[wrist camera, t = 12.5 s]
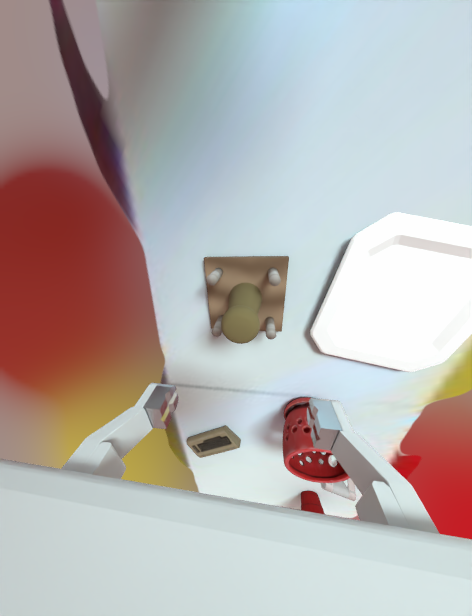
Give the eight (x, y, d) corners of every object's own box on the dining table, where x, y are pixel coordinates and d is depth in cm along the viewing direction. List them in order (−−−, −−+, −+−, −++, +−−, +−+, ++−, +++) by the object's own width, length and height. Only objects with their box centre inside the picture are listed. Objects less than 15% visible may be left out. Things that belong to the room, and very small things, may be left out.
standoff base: (205, 256, 30) (193, 263, 25) (287, 256, 29) (294, 263, 23) (212, 325, 36) (204, 343, 31) (280, 328, 34) (284, 347, 29)
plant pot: (294, 384, 41) (306, 441, 30) (344, 403, 41) (374, 466, 30) (270, 415, 46) (273, 472, 36) (314, 431, 47) (330, 492, 36)
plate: (421, 369, 35) (431, 378, 33) (300, 342, 36) (303, 349, 34) (537, 241, 24) (562, 242, 22) (359, 207, 25) (367, 206, 23)
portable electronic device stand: (353, 452, 49) (370, 493, 41) (336, 463, 52) (348, 503, 45) (327, 441, 48) (339, 481, 41) (311, 453, 52) (319, 492, 44)
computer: (225, 423, 51) (223, 435, 48) (241, 438, 54) (240, 450, 51) (188, 435, 57) (184, 446, 54) (203, 448, 59) (200, 460, 56)
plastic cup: (323, 503, 64) (336, 559, 53) (293, 498, 66) (299, 552, 55) (328, 489, 59) (343, 548, 49) (295, 485, 61) (303, 540, 50)
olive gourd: (232, 314, 33) (221, 352, 23) (226, 284, 31) (210, 312, 21) (264, 311, 32) (266, 349, 22) (260, 280, 30) (260, 307, 20)
